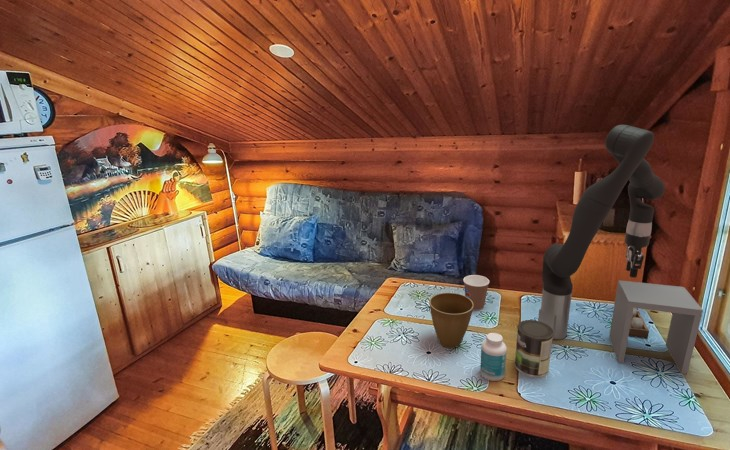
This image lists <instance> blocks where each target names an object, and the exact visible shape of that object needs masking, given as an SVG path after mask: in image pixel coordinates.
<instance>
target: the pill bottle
mask: <svg viewBox="0 0 730 450" xmlns="http://www.w3.org/2000/svg"><path fill="white" fill-rule="evenodd" d="M503 339H504V338H503V336H502V335H501V334H500V333H497V332H490V333H489V332H488V333H487V334H486V339H484V340H483V341H482V343H481V348H480V365H479V366H480V369H479V371H480V374H481V376H482V377H483V378H485V379H486V380H488V381H493V382H497V381H501V380H504V378H505V376H506V364H507V354H508V353H507V352H508V351H507V349H508V348H507V345H506V344H505V342H504V340H503Z"/></svg>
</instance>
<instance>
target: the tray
mask: <svg viewBox="0 0 730 450" xmlns="http://www.w3.org/2000/svg"><path fill="white" fill-rule="evenodd" d="M649 334H650V329H649V328H648V326H647V324H646V322H645V320H644V319H643V316H642V315H641V313H640V311H639V310H638V308H633V314H632V319H631V325H630V330H629V335H628V337H632V338H633V337H634V338H640V339H646V340H647V339H649Z"/></svg>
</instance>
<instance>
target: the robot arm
mask: <svg viewBox="0 0 730 450" xmlns="http://www.w3.org/2000/svg"><path fill="white" fill-rule="evenodd" d="M654 140H655V134H654V132H653V131H650V130H647V129H644V128H640V127H635V126H633V125H628V124H618V125H615V126H613V128H612V129H611V130H610V131H609V132H608V134H607V136H606V138H605V149H606V150H607V152H608V153H609V154H610V155H611V156H612V157H613V158H614V159H615V160H616V162H617V163H618V166H617V167H616V168H615V169H614V170H613V171H612V172H611V173H610V174H608V175H607V176H604V177H603V178H601V179H600V180H599V181H596V182H595V183H593V184H592V185H591V186H589V187H588V188H586V189H585V190H584V192H583V193H582V194H581V197H580V198H579V201H578V202H577V203H576V206H575V208H574V210H573V216H572V219H571V223H570V224H571V225H570V230H569V233H568V235H567V237H566V239H565V242H564V243H562V244H561V243H556V244H551V245H550V246H548V248H547V249H546V250H545V252H544V253H543V259H542V269H541V270H542V273H541V277H542V279H541V280H542V295H541V305H540V309H538V319H537V321H540V322H543V323H545V324H547V325H549V326H550V327H551V328H552V329H553V331H554V334H553V338H552V341H553V340H562V339H565V338H566V337H567V334H568V326H569V320H570V311H571V302H572V297H573V296H572V295H573V289H574V288H573V282H572V279H571V276H572V275H574V274H575V273H576V272H577V271H578V270H579V269H580V266H581V265H582V262H583V260H584V258H585V256H586V253H587V251H588V249H589V247H590V245H591V243H592V241H593V240H594V238H595V236H596V235H597V233H598V231H599V229H600V228H601V226H602V224H603V222H604V221H605V220H606V218H607V216H608V215H609V213H610V212H611V210H612V208H613V207H614V205H615V204H616V201H617V199H618V197H619V196H620V194H621V193H622V191H623V189H624V187H625V186H626V184H627V183H628V181H629V184H628V185H627V193H628V198H629V205H630V211H629V217H628V222H627V225H626V231H625V237H624V243H625V245H626V251H625V252H626V253H625V258H626V267H625V270H626V272H629V275H628V276H629V277H630V278H634V279H635V278H637V276H638V271H639V270H641V269H642V266H643V265H642V264H643V261H644V258H645V255H644V254H643V251H644V250H642V248H646V247H648V246H649V244H650V240H651V235H652V230H653V229H652V227H653V219H654V213H655V208H654V206H652V205H650V204H647V203H645V202H643V201H642V199H643V200H650V201H655V200H659V199H660V198H662V197H663V195H665V194H664V193H665V190H666V187H665V184H664V182H663V180H662V179H661V178H660V177H659V176H658V175H656V174H655V173H654V172H653V169H652V166H651V164H650V163H649V162H648V161H647V160H646V159H645V158H646V156H647V154H648V153H649V151H650V149H652V145H653V144H654Z"/></svg>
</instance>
